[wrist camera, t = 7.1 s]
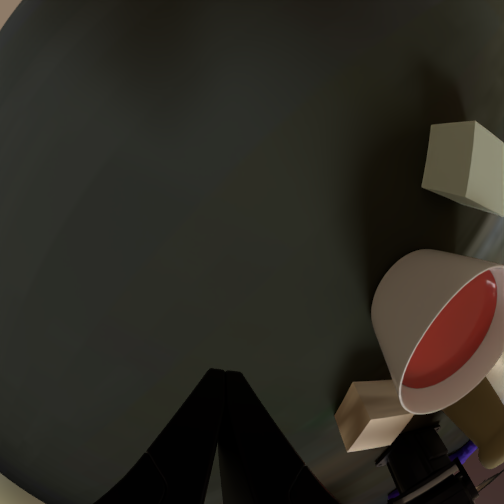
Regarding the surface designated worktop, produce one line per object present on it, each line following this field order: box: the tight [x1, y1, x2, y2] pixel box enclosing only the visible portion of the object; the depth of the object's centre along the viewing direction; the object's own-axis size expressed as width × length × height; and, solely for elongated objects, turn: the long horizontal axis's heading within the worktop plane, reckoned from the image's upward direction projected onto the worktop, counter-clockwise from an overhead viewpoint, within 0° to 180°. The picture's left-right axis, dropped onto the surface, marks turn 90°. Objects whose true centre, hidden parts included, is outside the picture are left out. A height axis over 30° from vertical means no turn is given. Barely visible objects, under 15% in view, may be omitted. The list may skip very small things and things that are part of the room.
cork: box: [442, 376, 504, 469], centre depth 15 cm, size 6×6×11 cm
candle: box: [371, 249, 504, 414], centre depth 13 cm, size 9×9×6 cm
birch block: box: [334, 380, 414, 452], centre depth 17 cm, size 4×4×4 cm
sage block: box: [421, 121, 504, 217], centre depth 12 cm, size 4×4×4 cm
